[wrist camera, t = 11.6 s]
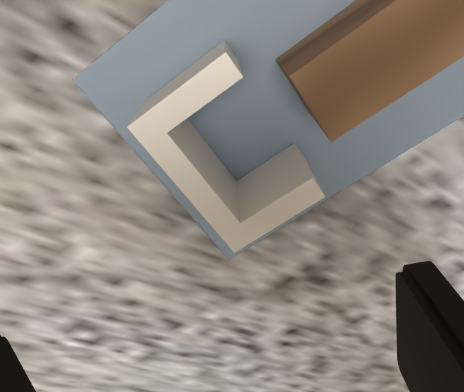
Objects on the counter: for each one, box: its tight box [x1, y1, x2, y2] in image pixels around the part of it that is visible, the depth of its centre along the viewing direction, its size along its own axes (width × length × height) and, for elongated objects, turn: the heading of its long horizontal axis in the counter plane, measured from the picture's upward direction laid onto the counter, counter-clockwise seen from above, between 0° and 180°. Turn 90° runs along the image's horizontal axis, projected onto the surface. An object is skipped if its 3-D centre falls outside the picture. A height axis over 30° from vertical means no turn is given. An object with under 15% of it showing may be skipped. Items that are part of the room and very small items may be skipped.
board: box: [72, 0, 464, 259], centre depth 22 cm, size 14×27×1 cm, turn 126°
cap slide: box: [127, 40, 325, 253], centre depth 21 cm, size 8×5×5 cm, turn 36°
